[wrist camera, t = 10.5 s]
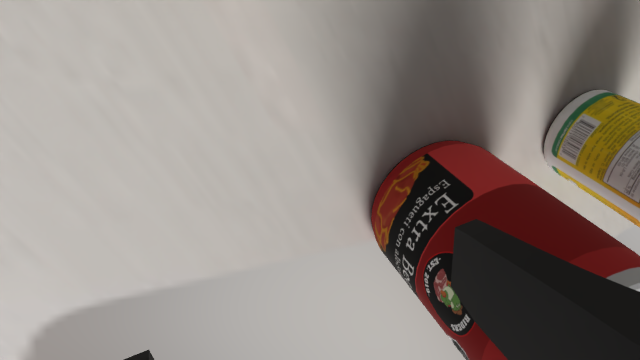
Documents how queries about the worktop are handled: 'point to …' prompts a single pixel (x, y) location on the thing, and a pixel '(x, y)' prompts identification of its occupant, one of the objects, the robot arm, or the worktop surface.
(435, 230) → the canned food
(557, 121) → the supplement bottle
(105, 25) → the worktop surface
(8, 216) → the worktop surface
